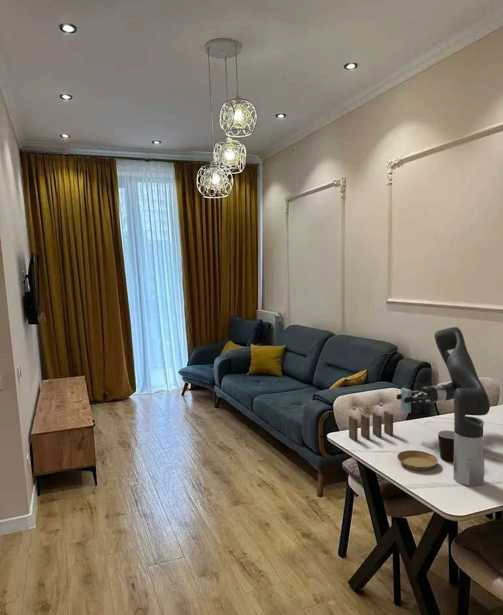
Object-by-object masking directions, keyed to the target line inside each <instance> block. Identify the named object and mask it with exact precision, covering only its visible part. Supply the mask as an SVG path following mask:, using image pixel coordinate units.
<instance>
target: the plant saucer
mask: <svg viewBox="0 0 503 615" xmlns="http://www.w3.org/2000/svg"><path fill="white" fill-rule="evenodd" d="M397 459H398V461H399V462H400V463H401V464H402V465H403V466H404V467H406V468H408V469H410V470H414V471H428V470H430V469H433V468H434V467H435V466H436V465H437V463H438V458H437V457H436V456H435V455H433V454H431V453H429V452H426V451H423V450H422V451H421V450H413V449H412V450H404V451H401V452H399V453H397Z"/></svg>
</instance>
